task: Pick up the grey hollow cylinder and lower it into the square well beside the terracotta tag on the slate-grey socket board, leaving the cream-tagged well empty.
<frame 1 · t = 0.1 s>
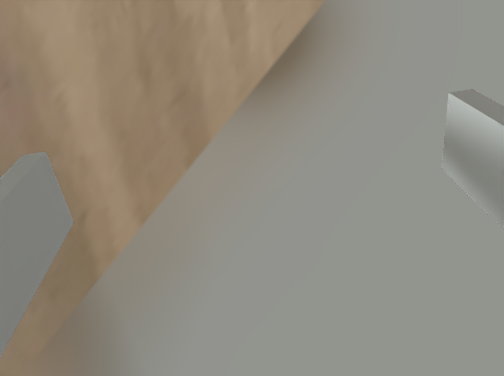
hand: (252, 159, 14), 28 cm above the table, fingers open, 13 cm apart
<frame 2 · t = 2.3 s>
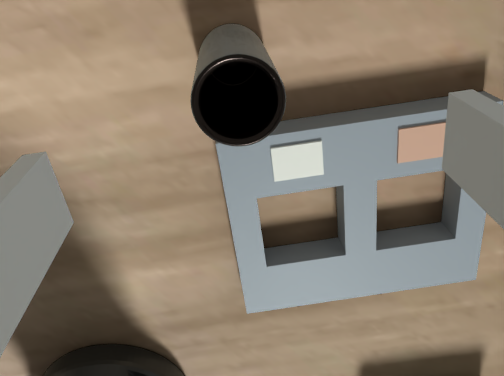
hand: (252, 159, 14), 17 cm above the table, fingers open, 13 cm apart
grey hollow cylinder: (232, 57, 30), on the table
socket board: (351, 203, 36), on the table
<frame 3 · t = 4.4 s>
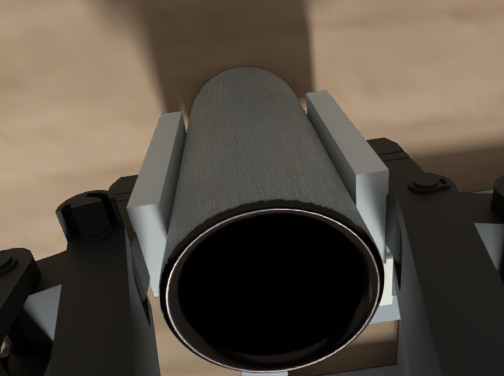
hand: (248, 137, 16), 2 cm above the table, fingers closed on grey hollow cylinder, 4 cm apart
grey hollow cylinder: (245, 119, 18), on the table, touching gripper
socket board: (421, 322, 24), on the table
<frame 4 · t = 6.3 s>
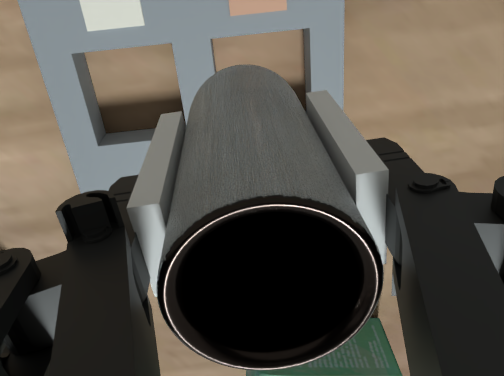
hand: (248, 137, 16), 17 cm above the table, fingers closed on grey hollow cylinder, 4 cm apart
grey hollow cylinder: (245, 118, 18), point 15 cm above the table, touching gripper
box: (309, 337, 46), on the table
socket board: (200, 80, 32), on the table
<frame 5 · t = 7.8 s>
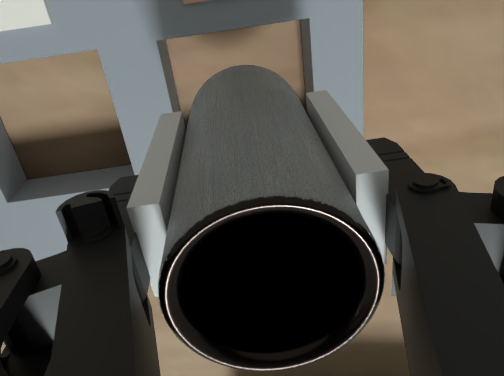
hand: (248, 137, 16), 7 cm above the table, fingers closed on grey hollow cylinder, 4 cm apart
grey hollow cylinder: (245, 118, 18), point 5 cm above the table, touching gripper
socket board: (153, 101, 22), on the table
when the fingers open (3 cm above the table, at t = 8.6 s): grey hollow cylinder drops 2 cm, resting in socket board.
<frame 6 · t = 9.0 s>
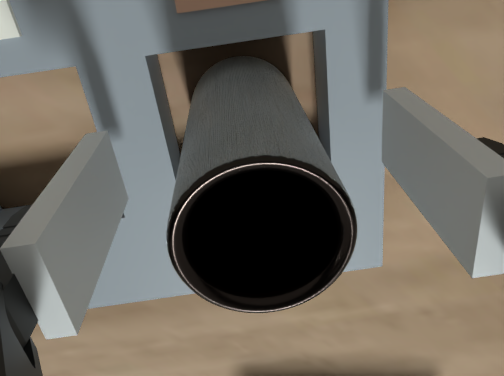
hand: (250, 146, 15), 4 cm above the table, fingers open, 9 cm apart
grey hollow cylinder: (242, 105, 19), resting in socket board
socket board: (144, 122, 19), on the table
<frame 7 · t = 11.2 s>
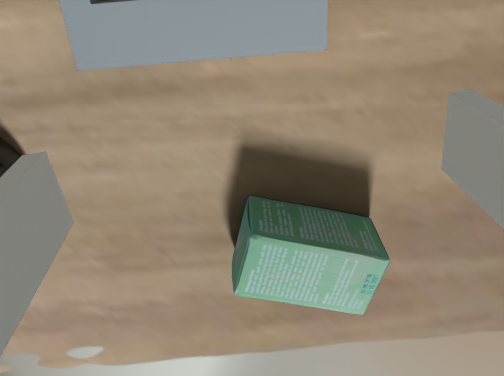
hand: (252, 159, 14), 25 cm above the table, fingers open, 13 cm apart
box: (298, 231, 46), on the table
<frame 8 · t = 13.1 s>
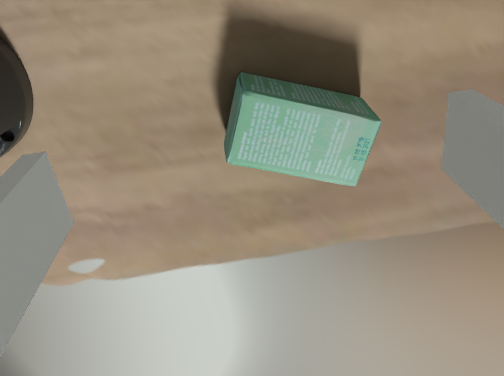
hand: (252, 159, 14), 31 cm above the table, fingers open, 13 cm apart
box: (290, 115, 46), on the table
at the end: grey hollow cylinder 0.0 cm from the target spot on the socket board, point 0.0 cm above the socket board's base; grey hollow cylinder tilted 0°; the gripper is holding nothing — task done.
